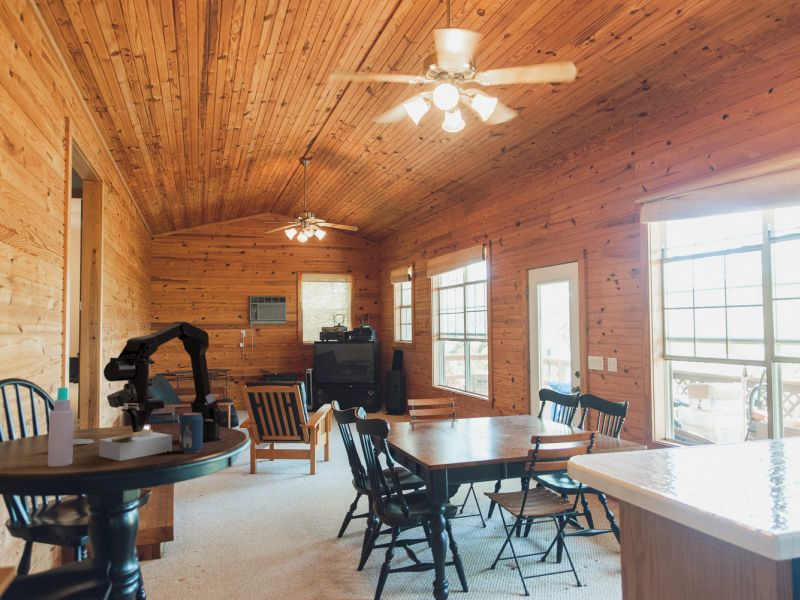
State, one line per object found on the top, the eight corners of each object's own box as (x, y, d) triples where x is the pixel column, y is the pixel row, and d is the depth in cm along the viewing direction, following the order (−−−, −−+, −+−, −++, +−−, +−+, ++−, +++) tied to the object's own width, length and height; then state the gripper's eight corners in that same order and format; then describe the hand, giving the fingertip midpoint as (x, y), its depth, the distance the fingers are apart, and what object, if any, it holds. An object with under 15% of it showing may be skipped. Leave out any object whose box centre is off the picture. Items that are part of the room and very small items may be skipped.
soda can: (199, 448, 182) (200, 411, 182) (204, 451, 176) (205, 413, 177) (177, 450, 178) (178, 413, 179) (181, 454, 172) (182, 415, 173)
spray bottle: (76, 462, 161) (79, 386, 163) (63, 467, 155) (66, 388, 157) (56, 462, 161) (59, 386, 163) (42, 467, 155) (45, 388, 157)
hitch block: (150, 446, 184) (150, 428, 185) (171, 450, 177) (172, 432, 178) (98, 455, 170) (99, 436, 171) (119, 460, 163) (120, 440, 164)
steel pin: (144, 448, 181) (145, 424, 181) (153, 449, 178) (153, 425, 179) (129, 450, 177) (130, 426, 177) (138, 452, 174) (139, 427, 174)
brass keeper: (133, 437, 171) (132, 436, 171) (152, 431, 165) (152, 429, 165) (113, 441, 166) (113, 439, 166) (133, 434, 160) (133, 432, 160)
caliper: (52, 455, 173) (53, 435, 173) (49, 455, 173) (49, 435, 173) (94, 442, 193) (95, 424, 193) (91, 442, 193) (92, 424, 194)
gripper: (95, 380, 164) (93, 433, 163) (129, 381, 154) (128, 438, 153) (131, 378, 174) (129, 429, 172) (166, 379, 163) (164, 433, 162)
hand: (136, 432), depth 164 cm, fingers closed
